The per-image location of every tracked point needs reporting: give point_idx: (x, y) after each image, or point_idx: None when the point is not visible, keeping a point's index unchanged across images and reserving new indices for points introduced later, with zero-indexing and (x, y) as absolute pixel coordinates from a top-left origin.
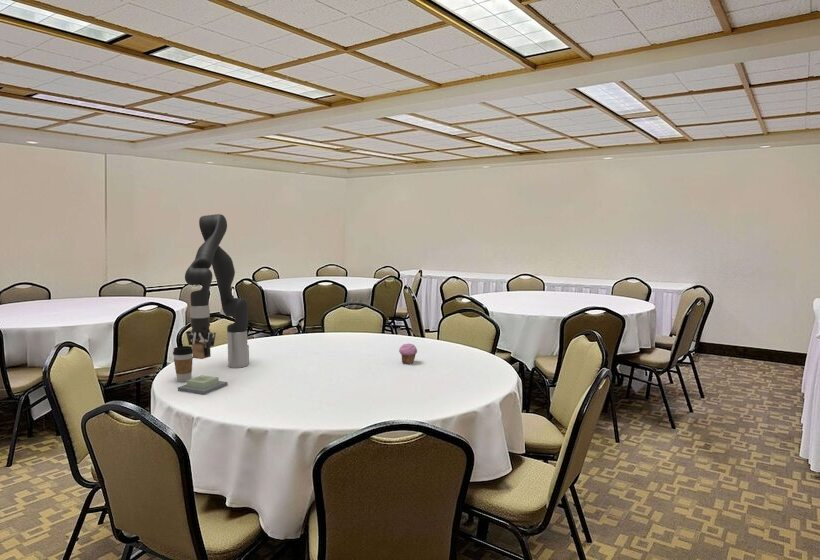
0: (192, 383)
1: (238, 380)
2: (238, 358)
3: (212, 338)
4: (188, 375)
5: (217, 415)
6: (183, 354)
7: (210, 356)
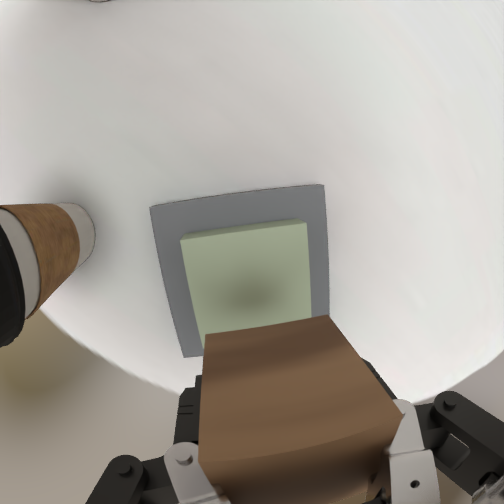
0: None
1: (299, 97)
2: None
3: (497, 458)
4: (84, 241)
5: (439, 380)
6: (21, 323)
7: (327, 315)
